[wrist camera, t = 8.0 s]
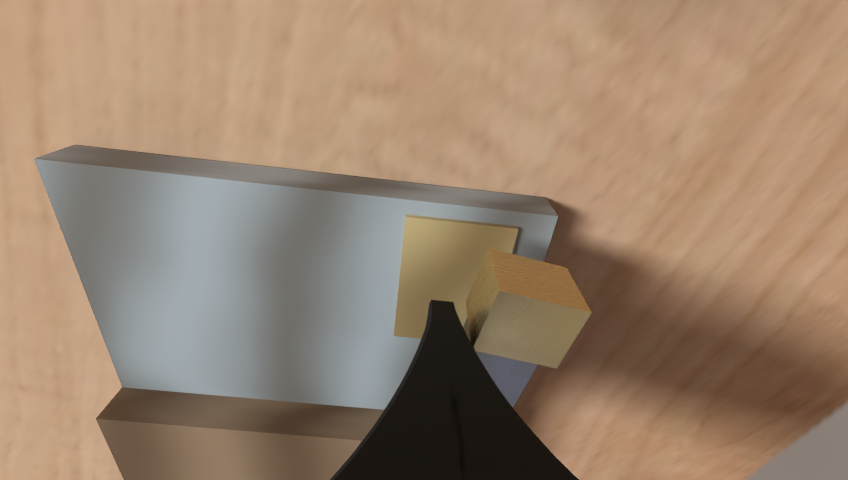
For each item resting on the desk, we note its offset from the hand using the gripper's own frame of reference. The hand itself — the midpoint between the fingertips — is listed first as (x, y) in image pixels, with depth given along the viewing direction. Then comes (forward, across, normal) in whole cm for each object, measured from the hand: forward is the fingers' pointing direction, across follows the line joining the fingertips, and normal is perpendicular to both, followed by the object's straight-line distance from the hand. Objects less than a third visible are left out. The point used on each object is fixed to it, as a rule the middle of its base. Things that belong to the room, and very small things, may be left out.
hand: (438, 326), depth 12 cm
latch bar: (0, -1, +4) cm, 4 cm away
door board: (+3, +5, +4) cm, 7 cm away
